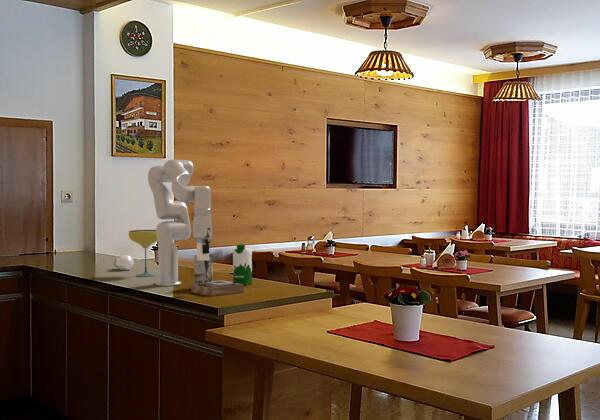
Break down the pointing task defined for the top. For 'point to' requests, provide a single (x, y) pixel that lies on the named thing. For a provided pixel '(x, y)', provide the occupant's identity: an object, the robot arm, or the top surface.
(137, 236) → the cocktail glass
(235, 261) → the milk carton
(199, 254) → the plug
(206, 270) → the coffee box
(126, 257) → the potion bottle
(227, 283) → the block
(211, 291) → the walled box
